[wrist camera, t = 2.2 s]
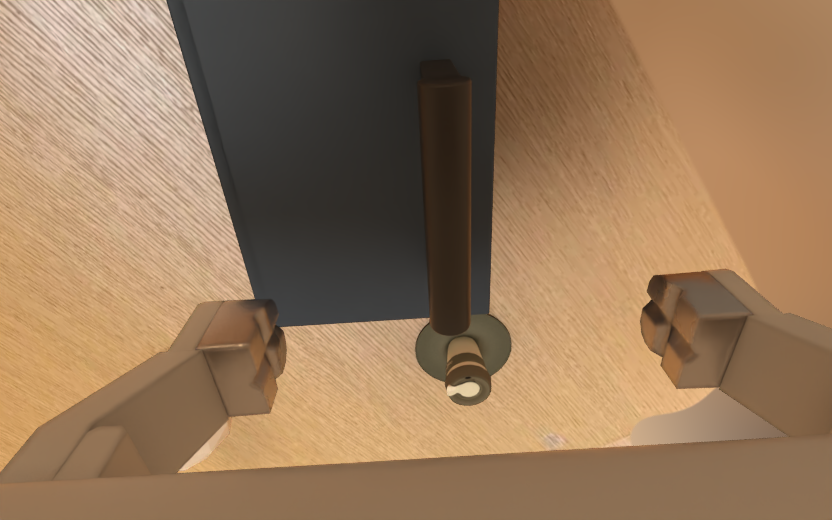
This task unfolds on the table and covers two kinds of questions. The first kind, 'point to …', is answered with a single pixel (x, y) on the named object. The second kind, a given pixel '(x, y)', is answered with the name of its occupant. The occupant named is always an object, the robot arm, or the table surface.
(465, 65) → the handled storage box
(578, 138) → the table surface
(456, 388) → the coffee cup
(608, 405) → the table surface
